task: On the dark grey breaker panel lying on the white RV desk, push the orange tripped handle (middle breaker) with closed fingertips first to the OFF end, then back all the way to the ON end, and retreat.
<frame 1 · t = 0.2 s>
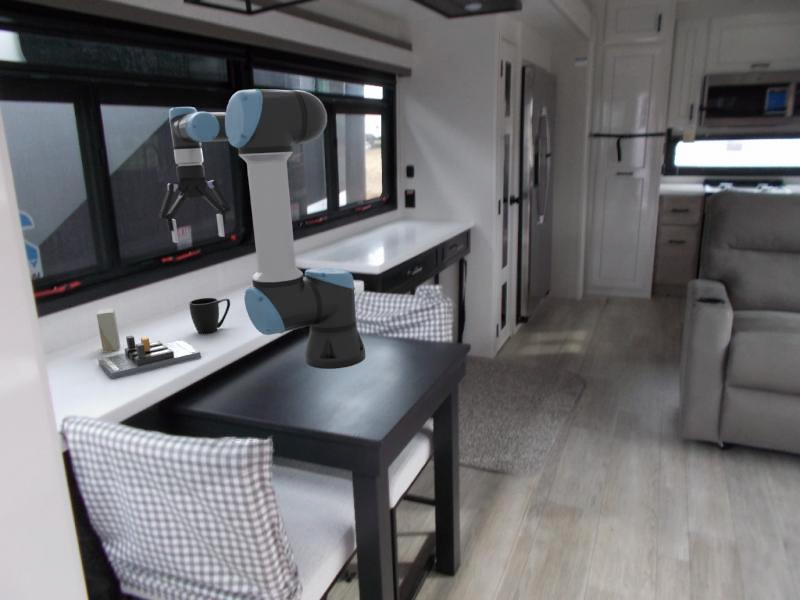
hand: (199, 239, 180), 28 cm above the counter, fingers open, 13 cm apart
breaker handle: (145, 343, 161), point 5 cm above the counter, slide at 0.5 cm
mug: (213, 330, 188), on the counter
panel: (150, 360, 163), on the counter
box: (112, 349, 174), on the counter
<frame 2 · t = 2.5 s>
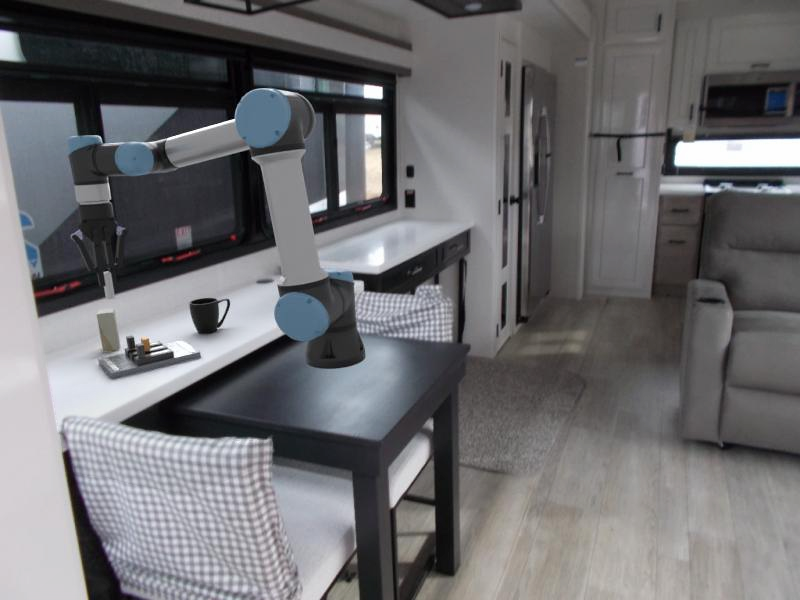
hand: (110, 297, 154), 18 cm above the counter, fingers closed
nothing on the counter moved.
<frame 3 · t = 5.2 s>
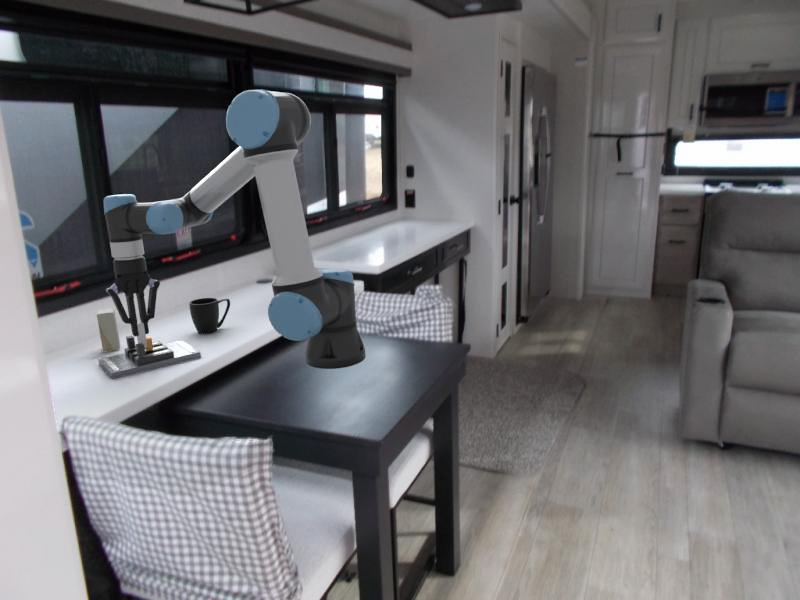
hand: (142, 346, 161), 4 cm above the counter, fingers closed
breaker handle: (148, 343, 161), point 5 cm above the counter, slide at -0.2 cm, touching gripper
everything else where it was.
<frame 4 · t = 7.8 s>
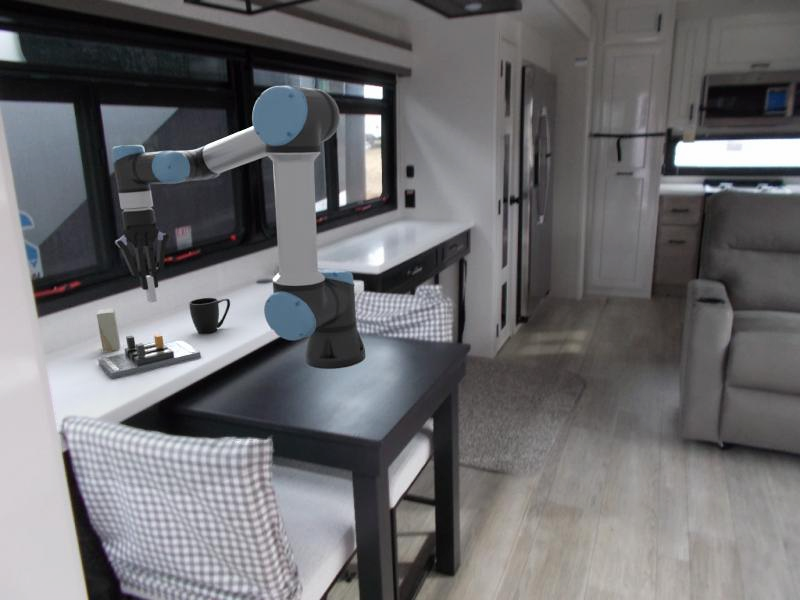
hand: (152, 300, 160), 16 cm above the counter, fingers closed
breaker handle: (158, 340, 163), point 5 cm above the counter, slide at -2.9 cm
everything else where it was.
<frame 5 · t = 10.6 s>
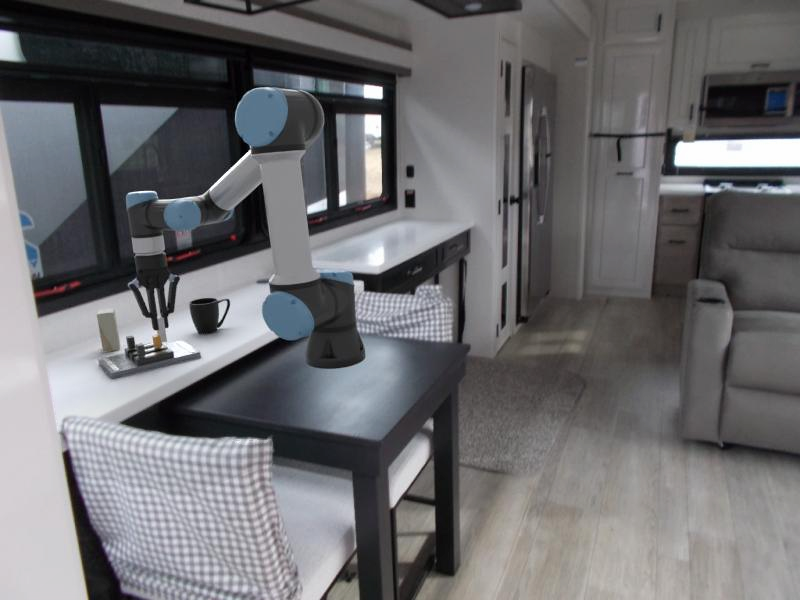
hand: (162, 340, 164), 5 cm above the counter, fingers closed
breaker handle: (157, 341, 163), point 5 cm above the counter, slide at -2.4 cm, touching gripper
everything else where it was.
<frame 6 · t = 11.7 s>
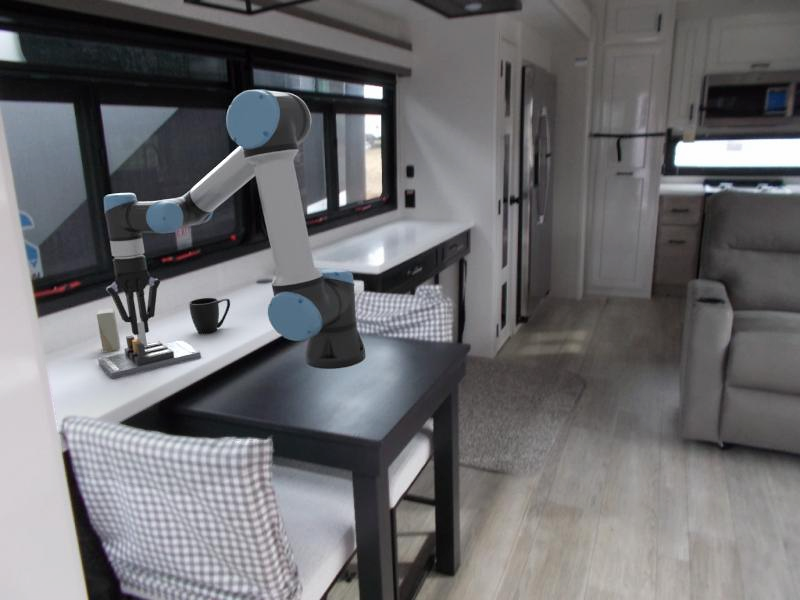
hand: (142, 345, 161), 5 cm above the counter, fingers closed
breaker handle: (136, 345, 160), point 5 cm above the counter, slide at 2.7 cm, touching gripper
everything else where it was.
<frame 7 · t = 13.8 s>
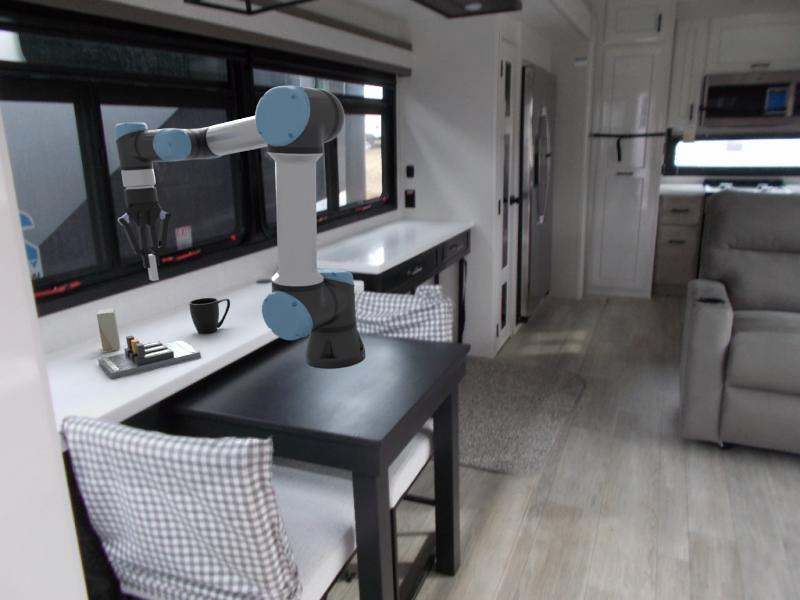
hand: (154, 279, 160), 21 cm above the counter, fingers closed
breaker handle: (135, 346, 160), point 5 cm above the counter, slide at 2.9 cm
everything else where it was.
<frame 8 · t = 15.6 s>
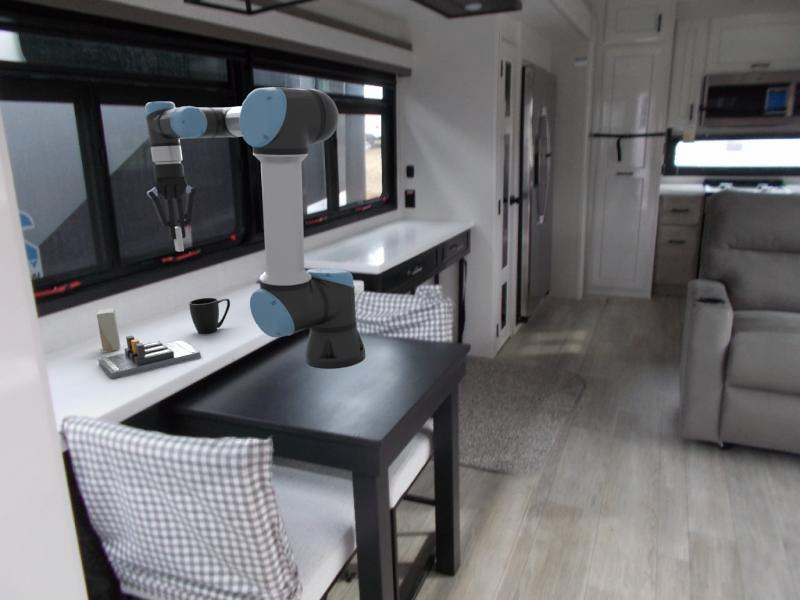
hand: (179, 250, 170), 26 cm above the counter, fingers closed
nothing on the counter moved.
at the end: breaker handle slide at 2.9 cm; breaker handle touching nothing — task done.
